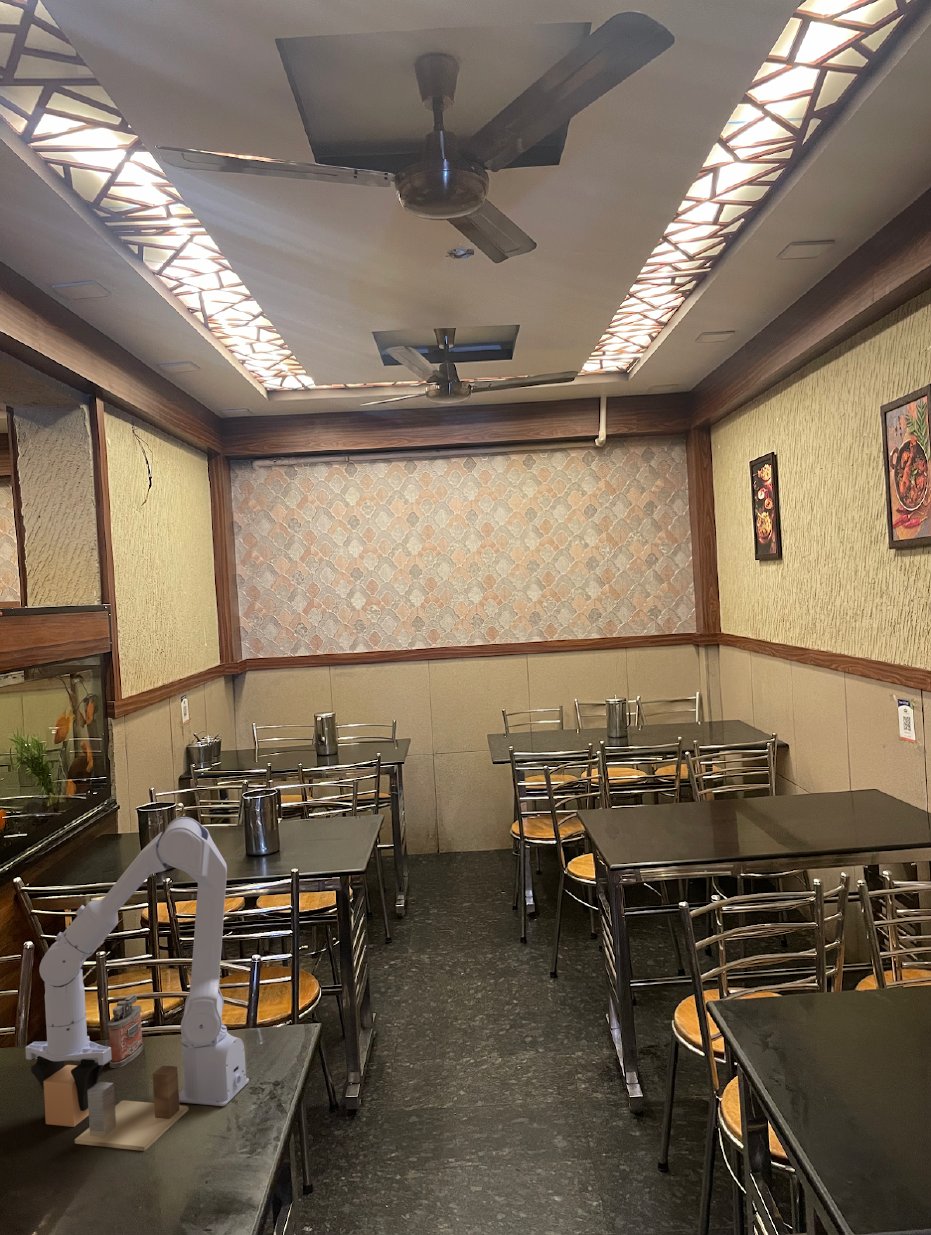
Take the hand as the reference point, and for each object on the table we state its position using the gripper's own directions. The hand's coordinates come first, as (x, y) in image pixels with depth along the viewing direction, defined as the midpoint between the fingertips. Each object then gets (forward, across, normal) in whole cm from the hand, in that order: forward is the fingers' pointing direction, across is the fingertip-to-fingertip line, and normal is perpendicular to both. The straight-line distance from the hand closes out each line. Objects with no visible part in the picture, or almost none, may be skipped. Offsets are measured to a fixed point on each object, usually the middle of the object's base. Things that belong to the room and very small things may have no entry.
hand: (71, 1105), depth 138 cm
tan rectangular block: (+2, 0, 0) cm, 2 cm away
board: (+2, -12, +1) cm, 12 cm away
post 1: (+2, -9, +4) cm, 10 cm away
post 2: (+2, -16, -2) cm, 16 cm away
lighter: (+2, +4, -19) cm, 19 cm away
